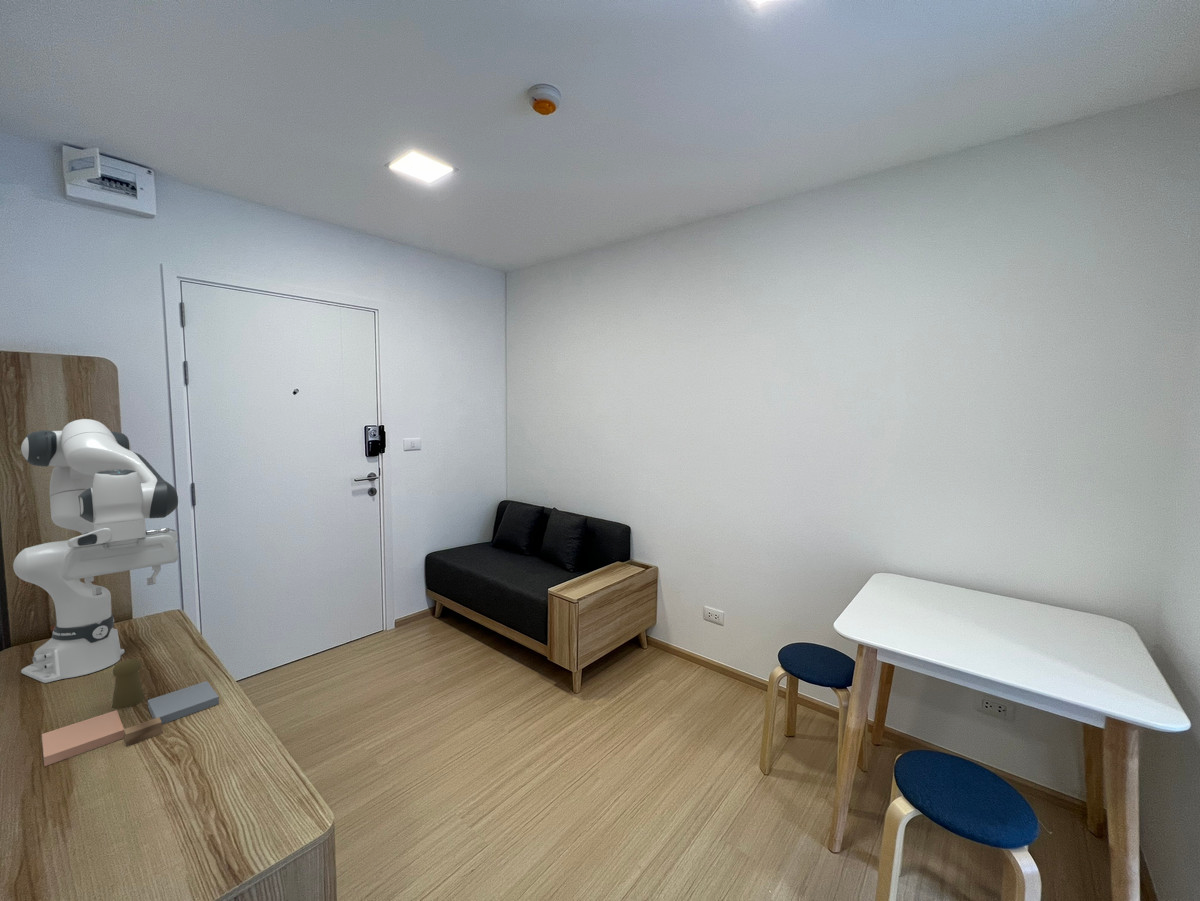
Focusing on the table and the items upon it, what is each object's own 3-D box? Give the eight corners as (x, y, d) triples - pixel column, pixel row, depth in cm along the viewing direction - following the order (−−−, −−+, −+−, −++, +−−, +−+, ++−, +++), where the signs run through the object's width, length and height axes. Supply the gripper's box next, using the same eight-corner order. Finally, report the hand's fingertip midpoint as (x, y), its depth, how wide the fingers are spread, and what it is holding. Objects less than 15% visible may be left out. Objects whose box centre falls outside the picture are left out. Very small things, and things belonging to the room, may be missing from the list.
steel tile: (147, 707, 120) (147, 700, 120) (207, 687, 130) (207, 680, 130) (156, 726, 113) (156, 718, 113) (218, 704, 122) (218, 696, 122)
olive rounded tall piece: (123, 710, 119) (122, 668, 118) (105, 707, 120) (103, 666, 120) (150, 697, 125) (149, 657, 124) (132, 694, 126) (131, 655, 126)
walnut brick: (126, 747, 106) (125, 734, 106) (124, 741, 108) (123, 729, 107) (162, 734, 110) (161, 721, 110) (159, 729, 112) (159, 717, 112)
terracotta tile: (42, 742, 107) (41, 734, 106) (117, 717, 116) (116, 709, 116) (44, 766, 99) (44, 757, 99) (124, 737, 109) (124, 729, 108)
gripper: (174, 526, 126) (178, 578, 125) (58, 541, 109) (62, 600, 109) (179, 526, 122) (183, 579, 121) (59, 541, 106) (64, 602, 105)
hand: (125, 589), depth 115 cm, fingers open, 8 cm apart
